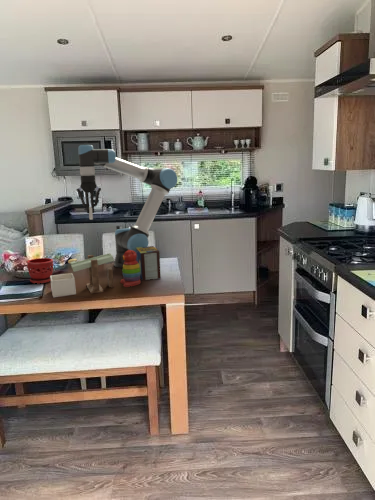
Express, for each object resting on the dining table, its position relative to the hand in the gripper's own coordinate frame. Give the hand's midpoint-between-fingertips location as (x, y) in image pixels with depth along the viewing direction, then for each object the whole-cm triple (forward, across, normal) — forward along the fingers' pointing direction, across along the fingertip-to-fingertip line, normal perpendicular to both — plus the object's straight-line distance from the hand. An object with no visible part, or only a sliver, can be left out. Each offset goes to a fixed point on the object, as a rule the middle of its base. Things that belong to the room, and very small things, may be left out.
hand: (91, 219), depth 206 cm
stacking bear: (+33, -15, +22) cm, 42 cm away
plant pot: (+33, +28, -4) cm, 43 cm away
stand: (+32, +1, +22) cm, 39 cm away
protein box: (+33, -27, +13) cm, 44 cm away
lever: (+21, +4, +17) cm, 27 cm away
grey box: (+32, +19, +22) cm, 44 cm away
